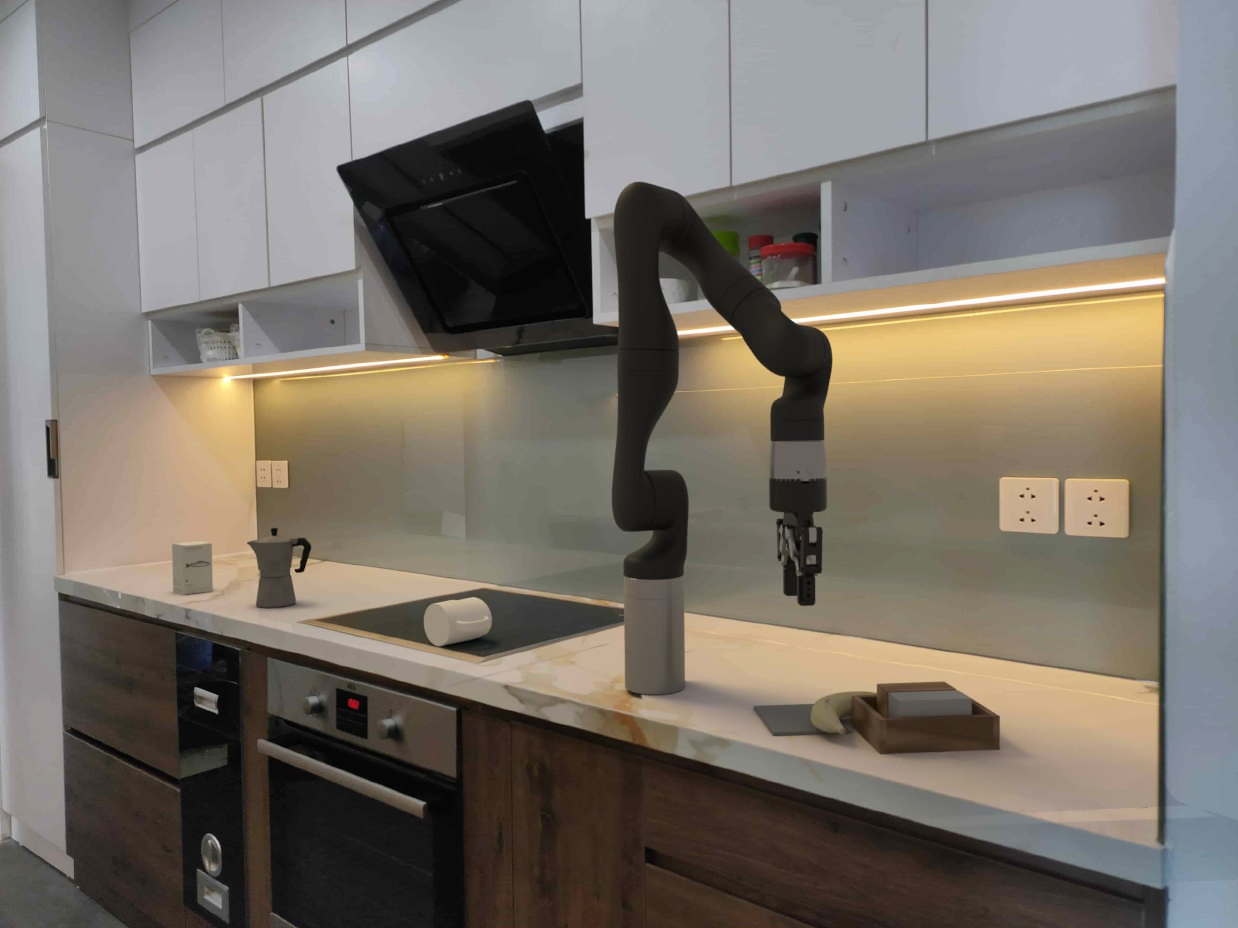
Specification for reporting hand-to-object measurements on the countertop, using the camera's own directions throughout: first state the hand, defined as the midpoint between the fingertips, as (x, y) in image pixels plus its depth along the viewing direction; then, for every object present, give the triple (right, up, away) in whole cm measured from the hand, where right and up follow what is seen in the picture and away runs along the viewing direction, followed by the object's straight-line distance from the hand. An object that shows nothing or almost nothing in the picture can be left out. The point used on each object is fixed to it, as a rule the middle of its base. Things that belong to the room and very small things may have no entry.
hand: (798, 599), depth 116 cm
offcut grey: (+14, -16, -8) cm, 23 cm away
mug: (-54, -16, +48) cm, 74 cm away
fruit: (+14, -15, +2) cm, 21 cm away
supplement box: (-133, -15, +107) cm, 171 cm away
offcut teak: (+14, -16, -4) cm, 22 cm away
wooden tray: (+14, -16, -6) cm, 23 cm away
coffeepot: (-104, -15, +88) cm, 137 cm away
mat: (0, -16, +1) cm, 16 cm away
